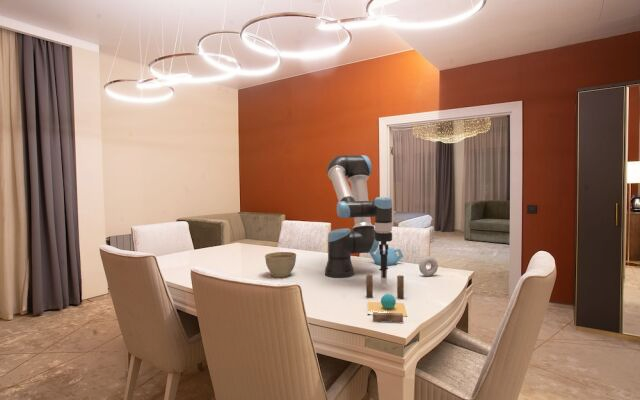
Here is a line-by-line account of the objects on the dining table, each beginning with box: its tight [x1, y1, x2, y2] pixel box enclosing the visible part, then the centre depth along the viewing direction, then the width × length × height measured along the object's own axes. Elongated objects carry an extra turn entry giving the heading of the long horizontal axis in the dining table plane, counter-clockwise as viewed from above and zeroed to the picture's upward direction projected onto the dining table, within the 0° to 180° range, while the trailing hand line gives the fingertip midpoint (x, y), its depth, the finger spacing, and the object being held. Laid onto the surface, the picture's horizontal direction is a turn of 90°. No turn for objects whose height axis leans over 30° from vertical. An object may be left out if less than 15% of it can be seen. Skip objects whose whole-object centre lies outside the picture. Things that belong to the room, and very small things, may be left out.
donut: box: [418, 255, 439, 277], centre depth 184 cm, size 10×3×10 cm, turn 102°
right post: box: [396, 274, 405, 300], centre depth 150 cm, size 3×3×9 cm
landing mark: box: [366, 301, 408, 317], centre depth 137 cm, size 14×14×1 cm
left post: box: [365, 274, 374, 299], centre depth 152 cm, size 3×3×9 cm
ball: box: [380, 293, 397, 309], centre depth 138 cm, size 6×6×6 cm
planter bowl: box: [264, 251, 297, 278], centre depth 190 cm, size 16×16×11 cm
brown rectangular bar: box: [372, 312, 404, 323], centre depth 125 cm, size 10×2×2 cm, turn 82°
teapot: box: [369, 246, 404, 267], centre depth 214 cm, size 15×15×11 cm
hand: (383, 284), depth 164 cm, fingers closed
